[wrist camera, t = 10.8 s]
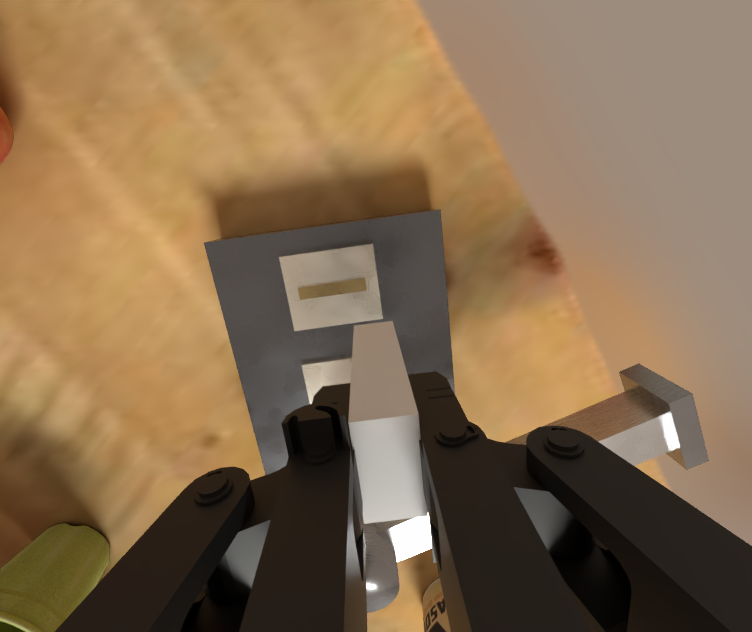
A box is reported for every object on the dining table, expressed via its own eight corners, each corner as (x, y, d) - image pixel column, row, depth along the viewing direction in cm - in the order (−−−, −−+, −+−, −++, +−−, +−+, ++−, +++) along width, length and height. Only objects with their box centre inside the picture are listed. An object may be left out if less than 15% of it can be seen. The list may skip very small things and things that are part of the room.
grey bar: (354, 531, 25) (352, 626, 20) (324, 485, 24) (313, 572, 18) (640, 411, 24) (731, 477, 18) (624, 355, 22) (715, 406, 17)
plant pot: (154, 554, 33) (86, 669, 25) (81, 601, 35) (-7, 726, 26) (73, 488, 31) (-31, 590, 23) (-2, 541, 32) (-127, 656, 24)
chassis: (280, 474, 32) (263, 533, 26) (221, 238, 26) (181, 247, 20) (452, 449, 32) (472, 503, 26) (431, 209, 26) (452, 209, 20)
